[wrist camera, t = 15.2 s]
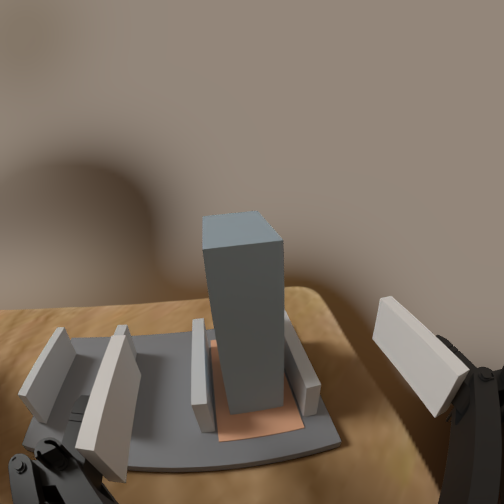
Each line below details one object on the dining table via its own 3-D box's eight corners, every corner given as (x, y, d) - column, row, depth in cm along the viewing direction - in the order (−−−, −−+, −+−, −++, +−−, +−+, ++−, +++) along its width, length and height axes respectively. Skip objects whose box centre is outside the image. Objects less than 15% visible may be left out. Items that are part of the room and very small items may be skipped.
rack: (27, 450, 12) (-2, 418, 11) (74, 343, 27) (61, 312, 26) (339, 446, 15) (351, 413, 14) (285, 325, 30) (284, 291, 29)
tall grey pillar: (230, 414, 18) (202, 249, 14) (222, 356, 25) (202, 216, 20) (283, 406, 19) (283, 240, 14) (264, 350, 25) (257, 210, 21)
